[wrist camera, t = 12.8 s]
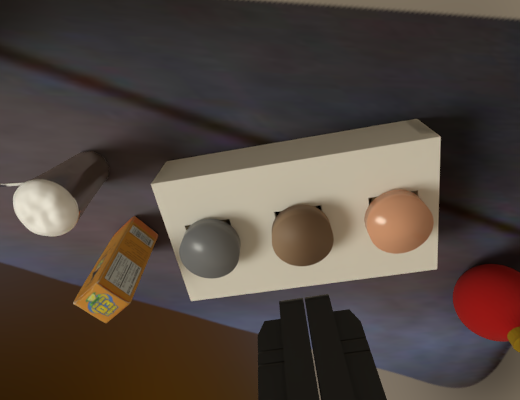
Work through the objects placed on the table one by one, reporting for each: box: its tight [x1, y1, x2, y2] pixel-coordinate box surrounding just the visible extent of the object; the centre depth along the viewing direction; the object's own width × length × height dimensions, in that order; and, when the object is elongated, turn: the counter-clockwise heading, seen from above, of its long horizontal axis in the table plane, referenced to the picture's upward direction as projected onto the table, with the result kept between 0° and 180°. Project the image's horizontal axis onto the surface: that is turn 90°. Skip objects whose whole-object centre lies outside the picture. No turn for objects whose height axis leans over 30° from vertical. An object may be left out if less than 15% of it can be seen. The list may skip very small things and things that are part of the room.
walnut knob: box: [272, 205, 334, 266], centre depth 32 cm, size 5×5×6 cm
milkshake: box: [0, 151, 109, 236], centre depth 30 cm, size 4×5×10 cm
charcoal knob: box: [179, 218, 241, 279], centre depth 33 cm, size 5×5×6 cm
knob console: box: [151, 119, 441, 301], centre depth 34 cm, size 22×12×5 cm, turn 101°
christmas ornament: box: [453, 264, 520, 352], centre depth 35 cm, size 7×7×10 cm
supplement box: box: [74, 216, 158, 323], centre depth 33 cm, size 3×3×10 cm
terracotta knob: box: [364, 190, 434, 254], centre depth 32 cm, size 5×5×6 cm
